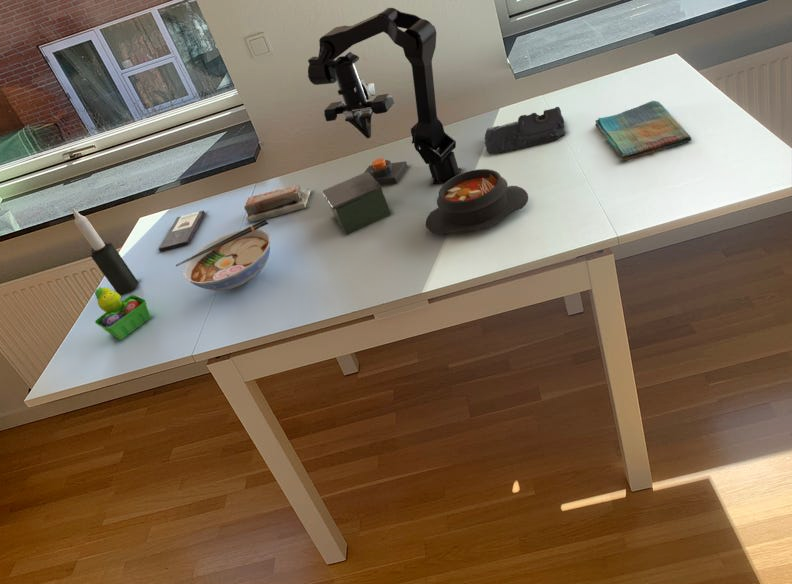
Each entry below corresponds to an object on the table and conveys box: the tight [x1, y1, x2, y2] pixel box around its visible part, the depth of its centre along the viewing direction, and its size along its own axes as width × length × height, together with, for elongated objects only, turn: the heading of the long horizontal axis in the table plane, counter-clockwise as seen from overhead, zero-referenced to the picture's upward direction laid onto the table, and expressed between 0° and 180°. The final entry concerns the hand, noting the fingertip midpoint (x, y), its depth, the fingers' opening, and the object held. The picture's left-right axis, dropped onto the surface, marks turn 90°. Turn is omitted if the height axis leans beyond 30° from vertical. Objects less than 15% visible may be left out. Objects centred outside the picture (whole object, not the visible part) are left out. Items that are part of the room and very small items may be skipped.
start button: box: [371, 157, 386, 170], centre depth 196 cm, size 4×4×2 cm
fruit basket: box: [94, 286, 152, 341], centre depth 170 cm, size 11×9×11 cm
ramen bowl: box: [176, 218, 271, 292], centre depth 174 cm, size 25×23×8 cm
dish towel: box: [594, 100, 692, 162], centre depth 174 cm, size 17×23×2 cm
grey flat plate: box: [321, 171, 382, 210], centre depth 179 cm, size 13×12×1 cm
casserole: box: [425, 168, 529, 235], centre depth 164 cm, size 25×19×8 cm
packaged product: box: [243, 184, 312, 223], centre depth 200 cm, size 18×5×10 cm
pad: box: [363, 159, 409, 186], centre depth 197 cm, size 12×9×4 cm
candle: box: [71, 207, 139, 296], centre depth 182 cm, size 5×5×25 cm
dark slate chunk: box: [484, 106, 566, 155], centre depth 191 cm, size 15×22×5 cm
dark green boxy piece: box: [328, 188, 392, 235], centre depth 181 cm, size 13×12×7 cm
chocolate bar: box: [158, 210, 206, 252], centre depth 208 cm, size 9×1×18 cm
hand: (369, 137), depth 190 cm, fingers closed
